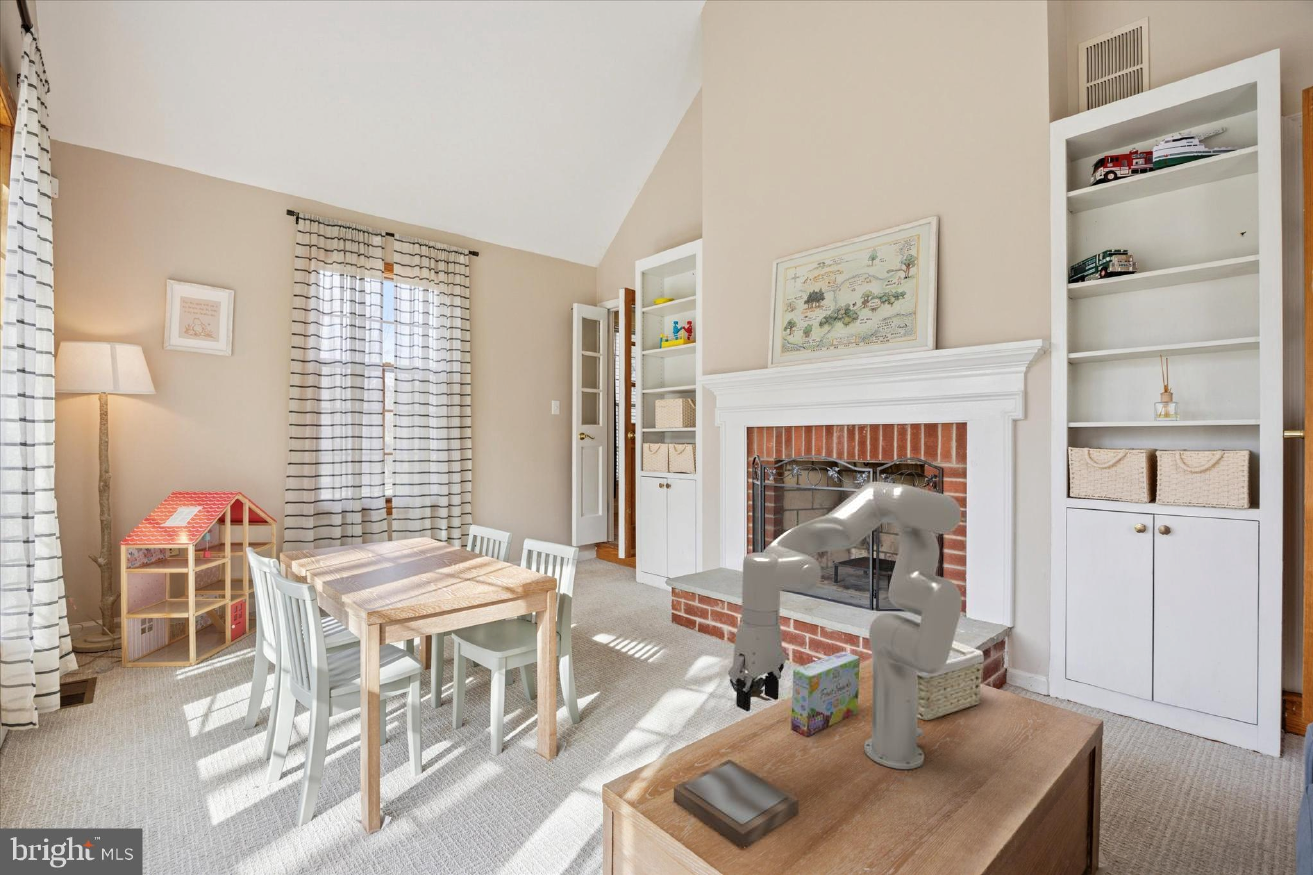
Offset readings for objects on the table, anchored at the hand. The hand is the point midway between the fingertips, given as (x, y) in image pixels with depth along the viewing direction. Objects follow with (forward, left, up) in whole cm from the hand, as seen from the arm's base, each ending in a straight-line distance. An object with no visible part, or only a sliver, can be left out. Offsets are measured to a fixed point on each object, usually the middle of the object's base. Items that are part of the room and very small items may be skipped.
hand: (757, 702), depth 123 cm
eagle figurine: (+1, -4, 0) cm, 4 cm away
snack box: (-37, -9, -19) cm, 43 cm away
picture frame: (+6, 0, -19) cm, 20 cm away
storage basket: (-68, +3, -19) cm, 71 cm away
